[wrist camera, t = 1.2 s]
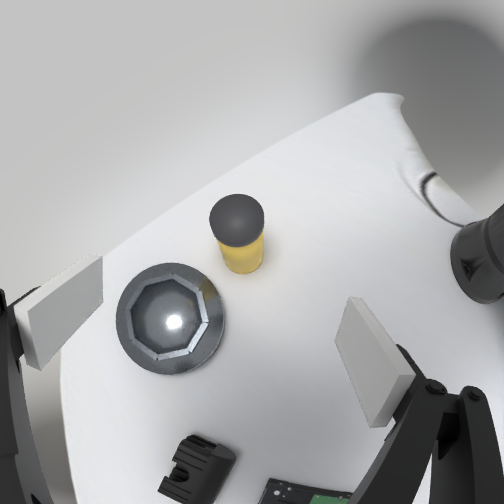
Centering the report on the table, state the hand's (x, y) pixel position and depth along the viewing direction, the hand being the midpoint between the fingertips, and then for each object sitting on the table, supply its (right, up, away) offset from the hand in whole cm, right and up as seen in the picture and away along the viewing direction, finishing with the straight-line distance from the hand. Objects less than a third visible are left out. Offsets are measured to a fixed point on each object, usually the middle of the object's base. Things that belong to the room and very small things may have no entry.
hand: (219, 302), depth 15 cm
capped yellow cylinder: (0, +2, +31) cm, 31 cm away
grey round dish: (-10, -8, +28) cm, 31 cm away
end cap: (-5, -28, +19) cm, 35 cm away
